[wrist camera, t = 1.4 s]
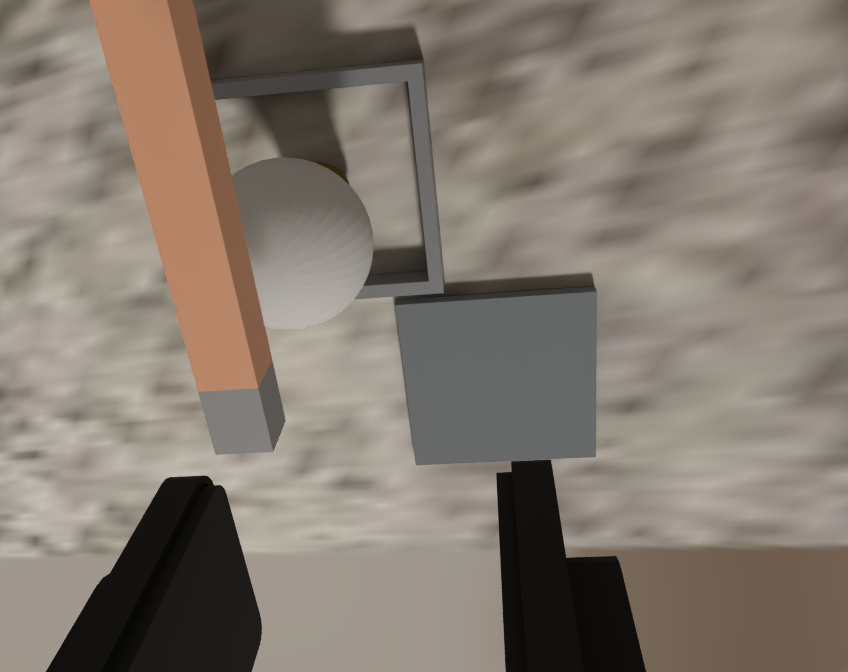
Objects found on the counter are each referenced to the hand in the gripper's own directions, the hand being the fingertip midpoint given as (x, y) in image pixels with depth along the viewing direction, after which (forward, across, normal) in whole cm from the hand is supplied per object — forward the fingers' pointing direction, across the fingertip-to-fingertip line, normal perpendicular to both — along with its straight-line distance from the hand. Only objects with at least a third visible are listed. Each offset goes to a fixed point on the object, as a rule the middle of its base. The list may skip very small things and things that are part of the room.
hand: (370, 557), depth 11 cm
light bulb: (+23, +5, +1) cm, 24 cm away
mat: (+23, -2, +11) cm, 26 cm away
